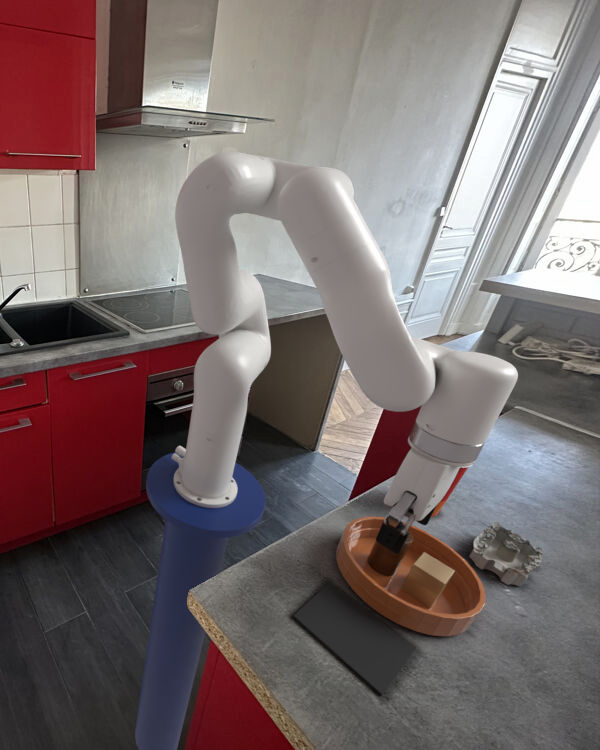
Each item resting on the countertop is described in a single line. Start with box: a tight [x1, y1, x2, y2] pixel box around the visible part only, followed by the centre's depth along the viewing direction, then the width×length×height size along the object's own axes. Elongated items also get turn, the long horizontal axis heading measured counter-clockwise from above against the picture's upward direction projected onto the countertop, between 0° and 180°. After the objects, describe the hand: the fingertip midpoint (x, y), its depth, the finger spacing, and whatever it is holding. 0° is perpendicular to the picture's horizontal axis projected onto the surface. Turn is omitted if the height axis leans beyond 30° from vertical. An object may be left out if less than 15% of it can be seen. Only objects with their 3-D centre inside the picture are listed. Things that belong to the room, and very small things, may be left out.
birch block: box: [401, 552, 455, 608], centre depth 62 cm, size 4×4×6 cm
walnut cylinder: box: [367, 531, 413, 576], centre depth 66 cm, size 4×4×8 cm
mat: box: [292, 581, 417, 697], centre depth 57 cm, size 12×10×1 cm
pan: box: [335, 516, 487, 637], centre depth 64 cm, size 18×18×4 cm
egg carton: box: [468, 520, 544, 587], centre depth 69 cm, size 11×8×4 cm
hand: (401, 532), depth 64 cm, fingers open, 9 cm apart
